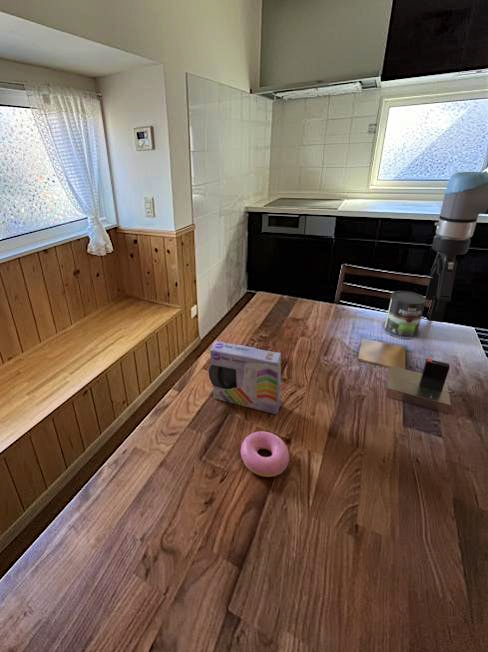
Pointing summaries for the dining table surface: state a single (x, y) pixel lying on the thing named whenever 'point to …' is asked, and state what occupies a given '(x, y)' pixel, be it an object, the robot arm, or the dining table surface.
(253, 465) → the doughnut
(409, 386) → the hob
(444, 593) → the dining table surface
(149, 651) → the dining table surface
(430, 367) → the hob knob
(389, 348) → the plate
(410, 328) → the coffee can
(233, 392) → the cake pan box
